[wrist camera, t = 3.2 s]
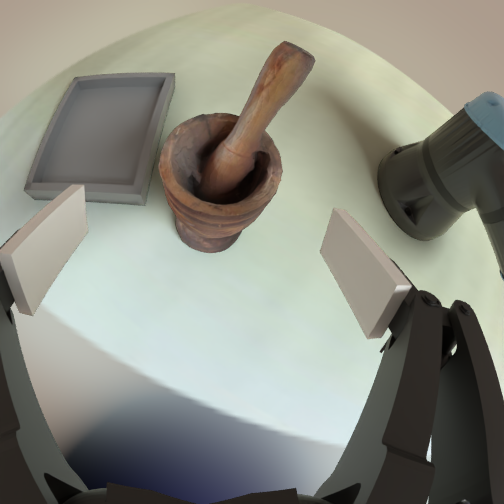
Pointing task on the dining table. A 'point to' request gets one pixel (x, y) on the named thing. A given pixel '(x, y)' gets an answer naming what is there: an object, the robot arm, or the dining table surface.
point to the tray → (104, 138)
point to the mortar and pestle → (230, 158)
